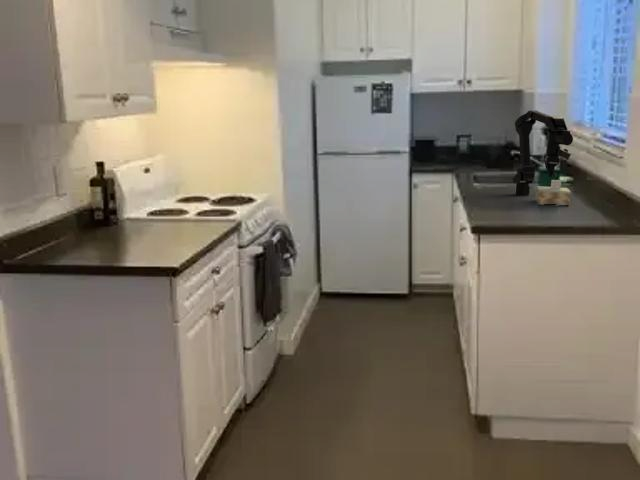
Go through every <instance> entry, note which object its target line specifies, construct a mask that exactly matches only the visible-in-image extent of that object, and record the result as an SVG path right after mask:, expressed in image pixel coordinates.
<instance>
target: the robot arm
mask: <svg viewBox="0 0 640 480" xmlns="http://www.w3.org/2000/svg"><path fill="white" fill-rule="evenodd" d="M537 122H540V123H542V124H544V125H545V127H547V128H548V129H547V130H546V131H545V133H546V134H547V143H546V146H545V147H546V151H545V153H544V154H543V156H542V157H543V162H544V166H545V170H546V171H547V170H548V174H547V175H548V177H549V178H552V177H553V173H554V172H555V171H554V170H555V168H556V167H557V166H558V165H560V163H561V158H563V159H565V160H566V161H567V160H569V159H570V157H571V155H572V153H571V152H569V150H568V149H567V148H564V149H562V148H561V146H562V145H563V146H570V145H572V143H573V142H574V137H573V134H572V133H571V130H568V127H567V125H566V121H565V118H564V117H562V116H554V115H553V116H551V115H549V114H547V113H543V112H540V111H538V110H532V109H531V110H528V111H527V112H526V113H524V114H522V115H520V116H519V117H517V119H516V120H515V122H514V126H515V132H516V133H517V135H518V137H519V138H518V141H519V143H518V144H519V166H517V168H516V174H515V175H514V177H513V178H512V183H513V184H515V192H514V195H515V196H520V195H521V196H522V195H528V196H529V195H530V190H531V189H530V188H531V186H530V184H533V182H534V179H535V175H536V170H535V169H536V167H535V166H534V165H532V163H531V149H530V147H531V146H530V145H531V144H530V143H531V142H530V134H531V132H532V131H533V126H534V125H535V124H536V123H537ZM560 145H561V146H560ZM560 157H561V158H560Z"/></svg>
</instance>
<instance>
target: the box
mask: <svg viewBox="0 0 640 480" xmlns="http://www.w3.org/2000/svg"><path fill="white" fill-rule="evenodd" d="M536 200H537V201H536ZM535 201H536V203H537V202H538V203H537V205H544V204H569V205H570V201H571V193H557V192H542V191H539V190H538V188H537V187H536V196H535Z"/></svg>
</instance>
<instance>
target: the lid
mask: <svg viewBox="0 0 640 480" xmlns="http://www.w3.org/2000/svg"><path fill="white" fill-rule="evenodd" d="M537 188H538V190H539V191H542V192H557V193H571V190H570V189H569V188H568V187H561V188H560V190H557V189H551V186H539V185H537V187H536V189H537Z"/></svg>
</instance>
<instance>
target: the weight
mask: <svg viewBox="0 0 640 480" xmlns="http://www.w3.org/2000/svg"><path fill="white" fill-rule="evenodd" d="M550 182H551V183H550V187H551V189H557V190H560V188H562V181H561V180H560V179H551V181H550Z"/></svg>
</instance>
